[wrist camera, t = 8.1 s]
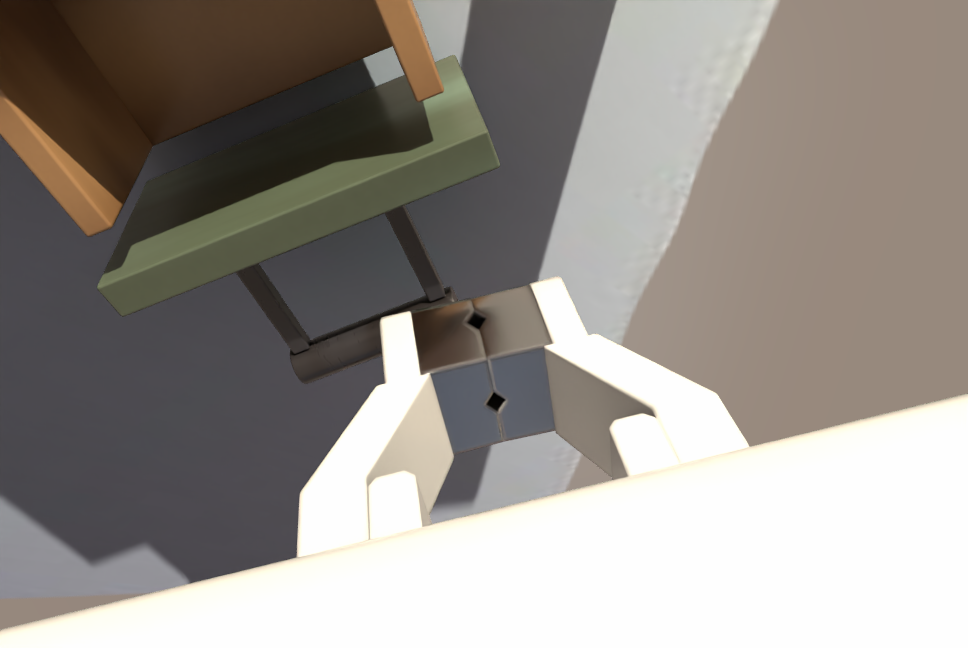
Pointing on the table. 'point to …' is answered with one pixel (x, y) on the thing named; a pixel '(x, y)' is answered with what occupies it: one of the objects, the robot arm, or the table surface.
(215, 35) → the drawer
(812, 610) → the robot arm
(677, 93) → the table surface
